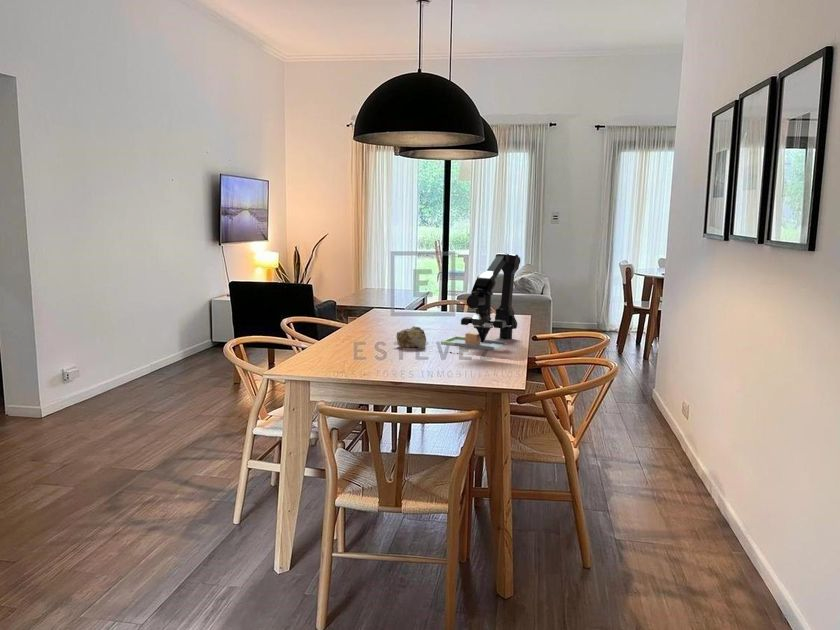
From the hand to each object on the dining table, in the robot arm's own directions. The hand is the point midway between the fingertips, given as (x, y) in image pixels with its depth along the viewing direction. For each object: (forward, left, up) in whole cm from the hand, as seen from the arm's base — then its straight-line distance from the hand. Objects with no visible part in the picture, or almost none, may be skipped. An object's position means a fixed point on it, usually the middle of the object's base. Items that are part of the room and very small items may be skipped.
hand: (482, 342), depth 268 cm
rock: (+14, -27, -3) cm, 31 cm away
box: (0, -4, -3) cm, 5 cm away
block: (0, -4, -1) cm, 5 cm away
